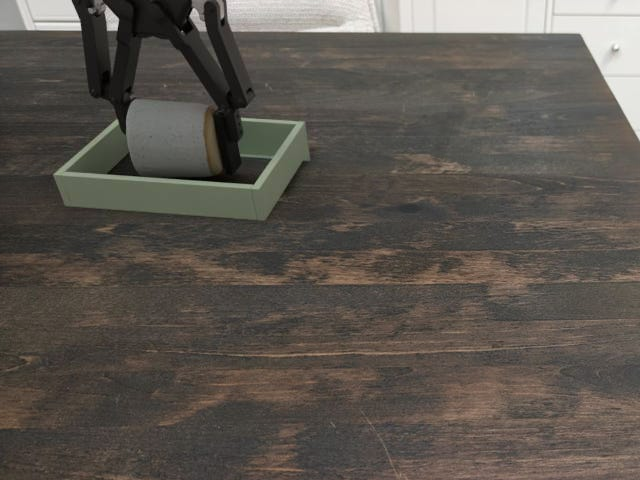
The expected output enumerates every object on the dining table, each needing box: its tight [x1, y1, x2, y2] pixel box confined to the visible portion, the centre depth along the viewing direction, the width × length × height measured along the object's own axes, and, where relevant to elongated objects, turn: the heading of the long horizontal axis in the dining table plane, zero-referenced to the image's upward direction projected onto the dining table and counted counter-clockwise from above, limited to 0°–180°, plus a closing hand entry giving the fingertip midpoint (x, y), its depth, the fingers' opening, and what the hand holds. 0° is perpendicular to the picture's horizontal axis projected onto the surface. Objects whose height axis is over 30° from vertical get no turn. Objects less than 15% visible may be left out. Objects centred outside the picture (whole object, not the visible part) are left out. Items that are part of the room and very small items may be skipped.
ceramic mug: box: [126, 97, 225, 178], centre depth 77 cm, size 11×8×8 cm
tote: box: [52, 117, 311, 222], centre depth 79 cm, size 21×16×5 cm
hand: (191, 165), depth 79 cm, fingers closed on ceramic mug, 9 cm apart
